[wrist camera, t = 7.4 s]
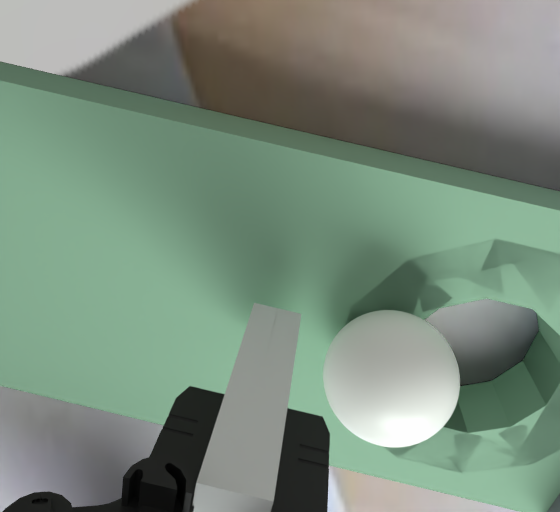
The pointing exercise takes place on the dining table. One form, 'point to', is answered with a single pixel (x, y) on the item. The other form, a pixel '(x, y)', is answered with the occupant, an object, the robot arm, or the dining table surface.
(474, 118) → the dining table surface
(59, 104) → the green
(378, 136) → the dining table surface
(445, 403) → the ball
